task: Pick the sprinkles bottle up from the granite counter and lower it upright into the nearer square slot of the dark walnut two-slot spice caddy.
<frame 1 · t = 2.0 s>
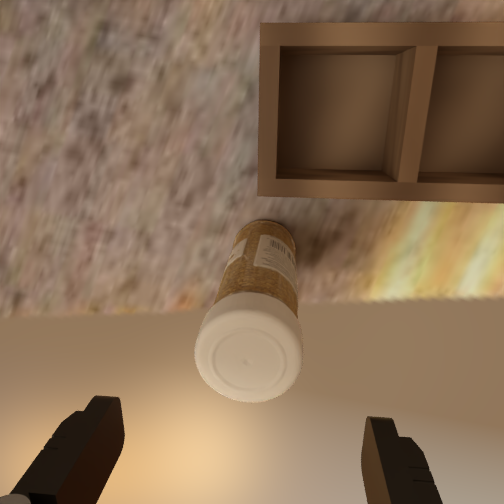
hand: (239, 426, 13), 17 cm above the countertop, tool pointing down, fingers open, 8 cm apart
spice caddy: (393, 115, 25), on the countertop
sprinkles bottle: (265, 248, 29), on the countertop
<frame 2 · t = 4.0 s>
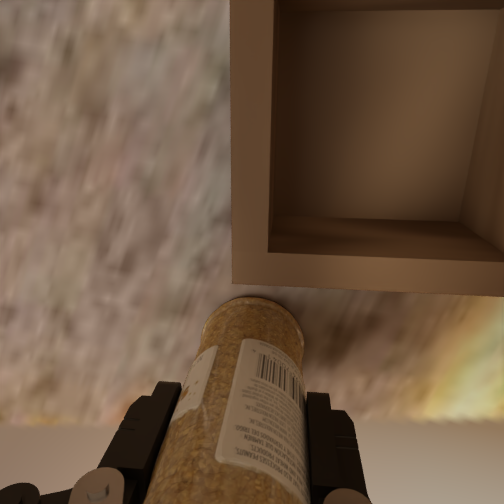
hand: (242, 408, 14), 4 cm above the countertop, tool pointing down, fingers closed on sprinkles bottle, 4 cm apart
spice caddy: (482, 123, 14), on the countertop
sprinkles bottle: (254, 337, 18), on the countertop, touching gripper
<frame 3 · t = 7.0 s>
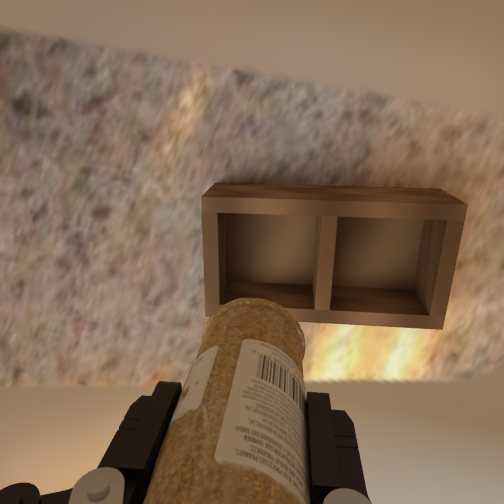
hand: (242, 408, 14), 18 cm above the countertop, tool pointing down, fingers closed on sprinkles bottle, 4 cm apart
spice caddy: (320, 241, 31), on the countertop
sprinkles bottle: (255, 337, 18), point 14 cm above the countertop, touching gripper
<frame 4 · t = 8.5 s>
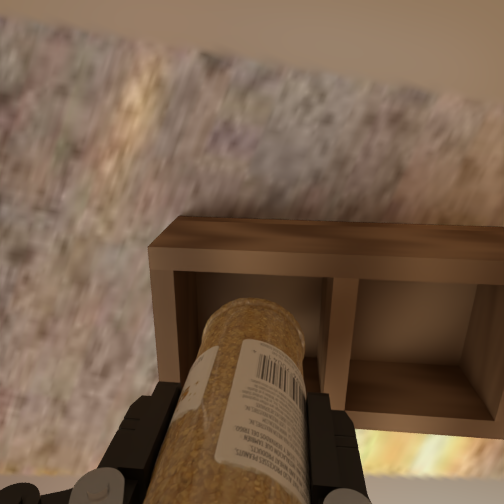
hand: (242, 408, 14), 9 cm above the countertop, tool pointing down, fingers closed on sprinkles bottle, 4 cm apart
spice caddy: (329, 297, 22), on the countertop
sprinkles bottle: (255, 337, 18), point 4 cm above the countertop, touching gripper
when the fingers open (7 cm above the countertop, at t = 9.8 s): sprinkles bottle drops 1 cm, resting on spice caddy.
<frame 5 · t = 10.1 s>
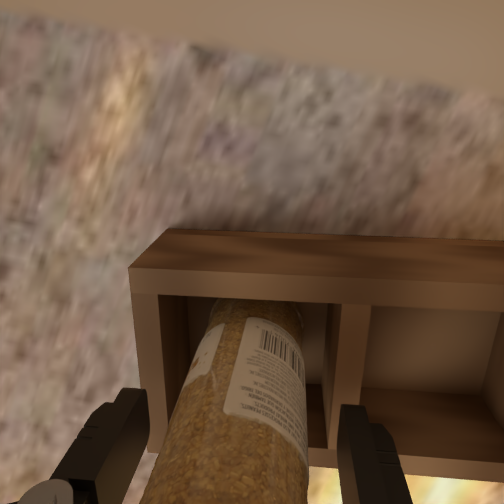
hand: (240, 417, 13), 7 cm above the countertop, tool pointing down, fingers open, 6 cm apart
spice caddy: (335, 318, 19), on the countertop
sprinkles bottle: (258, 320, 19), point 1 cm above the countertop, touching spice caddy
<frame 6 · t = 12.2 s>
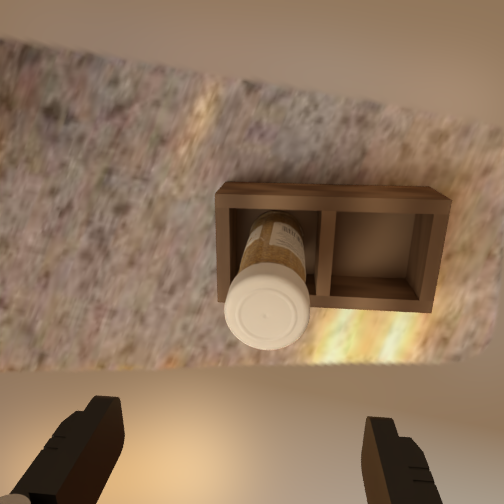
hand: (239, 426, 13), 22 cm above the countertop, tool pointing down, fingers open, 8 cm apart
spice caddy: (321, 235, 34), on the countertop
sprinkles bottle: (277, 235, 33), point 1 cm above the countertop, touching spice caddy
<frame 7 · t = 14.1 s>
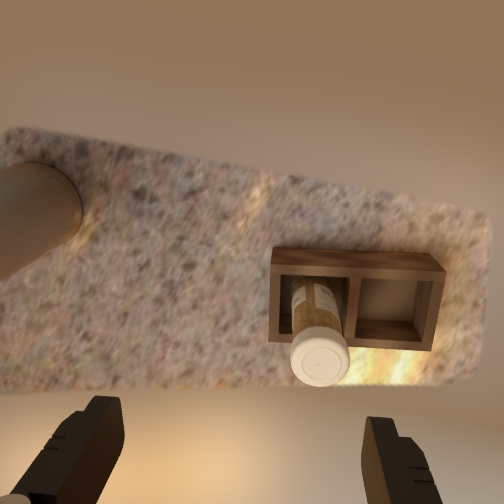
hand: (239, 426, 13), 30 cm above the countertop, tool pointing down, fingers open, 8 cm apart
spice caddy: (346, 287, 43), on the countertop
sprinkles bottle: (312, 288, 43), point 1 cm above the countertop, touching spice caddy
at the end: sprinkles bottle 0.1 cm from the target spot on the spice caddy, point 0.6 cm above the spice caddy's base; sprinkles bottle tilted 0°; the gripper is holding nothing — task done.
